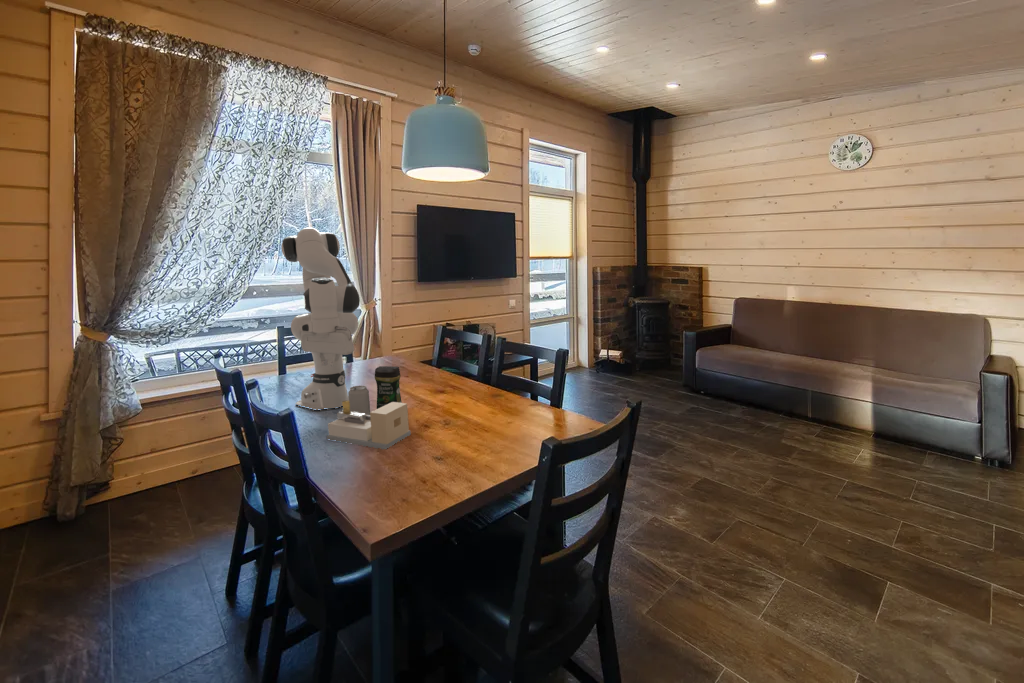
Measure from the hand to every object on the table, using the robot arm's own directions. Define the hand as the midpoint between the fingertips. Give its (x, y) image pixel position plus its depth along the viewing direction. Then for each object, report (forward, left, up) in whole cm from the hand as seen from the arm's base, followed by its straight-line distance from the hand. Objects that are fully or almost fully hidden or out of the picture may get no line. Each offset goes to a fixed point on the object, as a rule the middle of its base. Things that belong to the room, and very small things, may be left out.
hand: (329, 365), depth 169 cm
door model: (+15, 0, -24) cm, 28 cm away
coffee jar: (+5, +25, -24) cm, 35 cm away
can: (-2, +16, -24) cm, 29 cm away
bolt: (+8, 0, -18) cm, 20 cm away
